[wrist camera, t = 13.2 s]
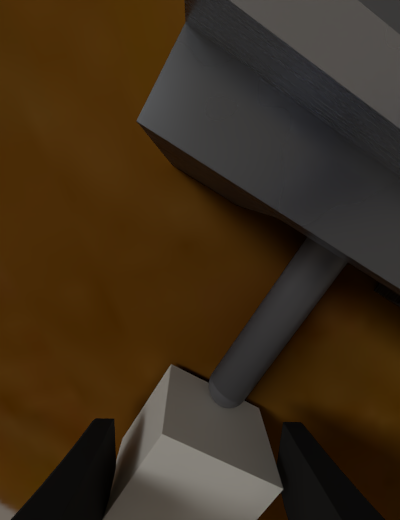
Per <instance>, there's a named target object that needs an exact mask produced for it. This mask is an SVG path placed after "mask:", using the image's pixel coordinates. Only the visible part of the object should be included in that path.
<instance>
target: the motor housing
mask: <svg viewBox="0 0 400 520" xmlns="http://www.w3.org/2000/svg"><path fill="white" fill-rule="evenodd" d="M185 20H186V23H185V25H184V27H183V29H182V31H181V33H180V35H179V37H178V39H177V41H176V43H175V45H174V47H173V49H172V51H171V53H170V55H169V57H168V59H167V61H166V63H165V65H164V67H163V69H162V71H161V73H160V75H159V77H158V79H157V81H156V83H155V85H154V87H153V89H152V91H151V93H150V95H149V97H148V99H147V101H146V103H145V105H144V107H143V109H142V111H141V113H140V115H139V117H138V119H137V122H138V124H139V125H140V126H141V127H142V128H143V130H144V131H145V132H146V133H147V135H148V136H149V137H150V138H151V140H152V141H153V142H154V143H155V144H156V146H157V147H158V148H159V149H160V151H161V152H162V153H163V154H164V156H165V157H166V158H167V159H168V161H169V162H170V163H171V164H172V165H173V166H175V167H176V168H178V169H180V170H181V171H183V172H184V173H186V174H188V175H189V176H191V177H192V178H194V179H196V180H197V181H199V182H200V183H202V184H204V185H205V186H207V187H208V188H210V189H212V190H213V191H215V192H216V193H218V194H220V195H221V196H223V197H224V198H226V199H228V200H229V201H231V202H232V203H234V204H236V205H237V206H241V207H244V208H247V209H250V210H253V211H256V212H260V213H263V214H266V215H269V216H272V217H275V218H278V219H280V220H281V221H283V222H284V223H286V224H288V225H289V226H291V227H292V228H294V229H296V230H297V231H299V232H300V233H302V234H303V235H305V236H307V237H308V238H310V239H311V240H313V241H314V242H316V243H318V244H319V245H321V246H322V247H324V248H326V249H327V250H329V251H330V252H332V253H333V254H335V255H337V256H338V257H340V258H341V259H343V260H345V261H346V262H348V263H349V264H351V265H352V266H354V267H356V268H357V269H359V270H360V271H362V272H363V273H365V274H367V275H368V276H370V277H371V278H373V279H375V280H376V281H378V282H379V283H380V284H379V285H378V286H377V287H376V289H375V290H374V291H375V292H377V293H378V294H380V295H381V296H383V297H385V298H386V299H388V300H389V301H391V302H393V303H394V304H396V305H397V306H399V307H400V0H185Z"/></svg>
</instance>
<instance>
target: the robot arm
mask: <svg viewBox="0 0 400 520" xmlns="http://www.w3.org/2000/svg"><path fill="white" fill-rule="evenodd" d="M277 469H278V473H279V476H280V479H281V483H282V486H283V490H282V491H281V494H282V498H283V502H284V507H285V510H286V513H287V517H288V520H385V519H384V518H383V517H382V516H381V515H380V514H379V513H378V512H377V510H376V509H375V508H374V507H373V506H372V505H371V504H370V503H369V502H368V501H367V500H366V498H365V497H364V496H363V495H362V494H361V493H360V492H359V490H358V489H357V488H356V487H355V486H354V485H353V484H352V482H351V481H350V480H349V479H348V478H347V477H346V476H345V475H344V473H343V472H342V471H341V470H340V469H339V467H338V466H337V465H336V464H335V463H334V462H333V460H332V459H331V458H330V457H329V456H328V454H327V453H326V452H325V451H324V450H323V448H322V447H321V446H320V445H319V443H318V442H317V441H316V440H315V439H314V437H313V436H312V435H311V434H310V432H309V431H308V430H307V429H306V428H305V426H304V425H303V424H302V423H301V422H283V427H282V434H281V440H280V447H279V454H278V461H277ZM115 470H116V452H115V427H114V419H98V418H96V419H95V420H93V421H92V423H91V424H90V425H89V427H88V428H87V429H86V431H85V432H84V433H83V435H82V436H81V437H80V438H79V440H78V441H77V442H76V444H75V445H74V446H73V447H72V449H71V450H70V451H69V452H68V454H67V455H66V456H65V457H64V459H63V460H62V461H61V462H60V464H59V465H58V466H57V467H56V468H55V470H54V471H53V472H52V473H51V474H50V476H49V477H48V478H47V479H46V480H45V482H44V483H43V484H42V485H41V486H40V488H39V489H38V490H37V491H36V492H35V493H34V494H33V495H32V497H31V498H30V499H29V500H28V501H27V502H26V503H25V504H24V506H23V507H22V508H21V509H20V510H19V511H18V512H17V513H16V514H15V516H14V517H13V518H12V519H11V520H102V519H103V516H104V513H105V510H106V507H107V504H108V500H109V496H110V492H111V488H112V483H113V479H114V474H115Z"/></svg>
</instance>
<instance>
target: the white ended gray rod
mask: <svg viewBox="0 0 400 520" xmlns="http://www.w3.org/2000/svg"><path fill="white" fill-rule="evenodd" d="M347 263H348V262H346V261H345V260H343V259H341V258H340V257H338V256H337V255H335V254H333V253H332V252H330V251H329V250H327V249H326V248H324V247H322V246H321V245H319V244H318V243H316V242H314V241H313V240H311V239H310V238H308V237H307V238H306V240H305V241H304V243H303V244H302V245H301V247H300V248H299V250H298V251H297V253H296V254H295V255H294V257H293V258H292V260H291V261H290V263H289V264H288V265H287V267H286V268H285V270H284V271H283V273H282V274H281V275H280V277H279V278H278V280H277V281H276V283H275V284H274V286H273V287H272V288H271V290H270V291H269V293H268V294H267V296H266V297H265V298H264V300H263V301H262V303H261V304H260V306H259V307H258V308H257V310H256V311H255V313H254V314H253V316H252V317H251V318H250V320H249V321H248V323H247V324H246V326H245V327H244V329H243V330H242V331H241V333H240V334H239V336H238V337H237V339H236V340H235V341H234V343H233V344H232V346H231V347H230V349H229V350H228V351H227V353H226V354H225V356H224V357H223V359H222V360H221V361H220V363H219V364H218V366H217V367H216V369H215V370H214V372H213V373H212V375H211V377H210V380H209V383H208V382H206V381H204V380H202V379H200V378H198V377H196V376H194V375H192V374H190V373H188V372H186V371H184V370H182V369H180V368H178V367H176V366H174V365H172V364H171V365H170V367H169V368H168V370H167V371H166V373H165V374H164V376H163V377H162V379H161V380H160V382H159V384H158V385H157V387H156V388H155V390H154V391H153V393H152V394H151V396H150V397H149V399H148V400H147V402H146V404H145V405H144V407H143V408H142V410H141V411H140V413H139V414H138V416H137V417H136V419H135V420H134V422H133V424H132V425H131V427H130V428H129V430H128V431H127V433H126V434H125V436H124V437H123V439H122V443H121V446H120V449H119V453H118V456H117V460H116V470H115V474H114V479H113V483H112V488H111V492H110V496H109V500H108V504H107V507H106V510H105V513H104V516H103V519H102V520H257V519H258V518H259V517H260V515H261V514H262V513H263V512H264V511H265V510H266V509H267V507H268V506H269V505H270V504H271V503H272V502H273V501H274V499H275V498H276V497H277V496H278V495H279V494H280V492H281V491H282V490H283V486H282V483H281V479H280V476H279V473H278V469H277V466H276V463H275V459H274V456H273V453H272V450H271V446H270V443H269V440H268V436H267V433H266V430H265V426H264V423H263V420H262V416H261V413H260V410H259V408H258V407H256V406H254V405H252V404H250V403H248V402H246V401H244V400H245V399H246V397H247V396H248V395H249V393H250V392H251V391H252V389H253V388H254V387H255V385H256V384H257V383H258V381H259V380H260V379H261V377H262V376H263V375H264V373H265V372H266V371H267V369H268V368H269V367H270V365H271V364H272V363H273V361H274V360H275V359H276V357H277V356H278V355H279V353H280V352H281V351H282V349H283V348H284V347H285V345H286V344H287V343H288V341H289V340H290V339H291V337H292V336H293V335H294V333H295V332H296V331H297V329H298V328H299V327H300V325H301V324H302V323H303V321H304V320H305V319H306V317H307V316H308V315H309V313H310V312H311V311H312V309H313V308H314V307H315V305H316V304H317V303H318V301H319V300H320V299H321V297H322V296H323V295H324V293H325V292H326V291H327V289H328V288H329V287H330V285H331V284H332V283H333V281H334V280H335V279H336V277H337V276H338V275H339V273H340V272H341V271H342V269H343V268H344V267H345V265H346V264H347Z"/></svg>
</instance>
